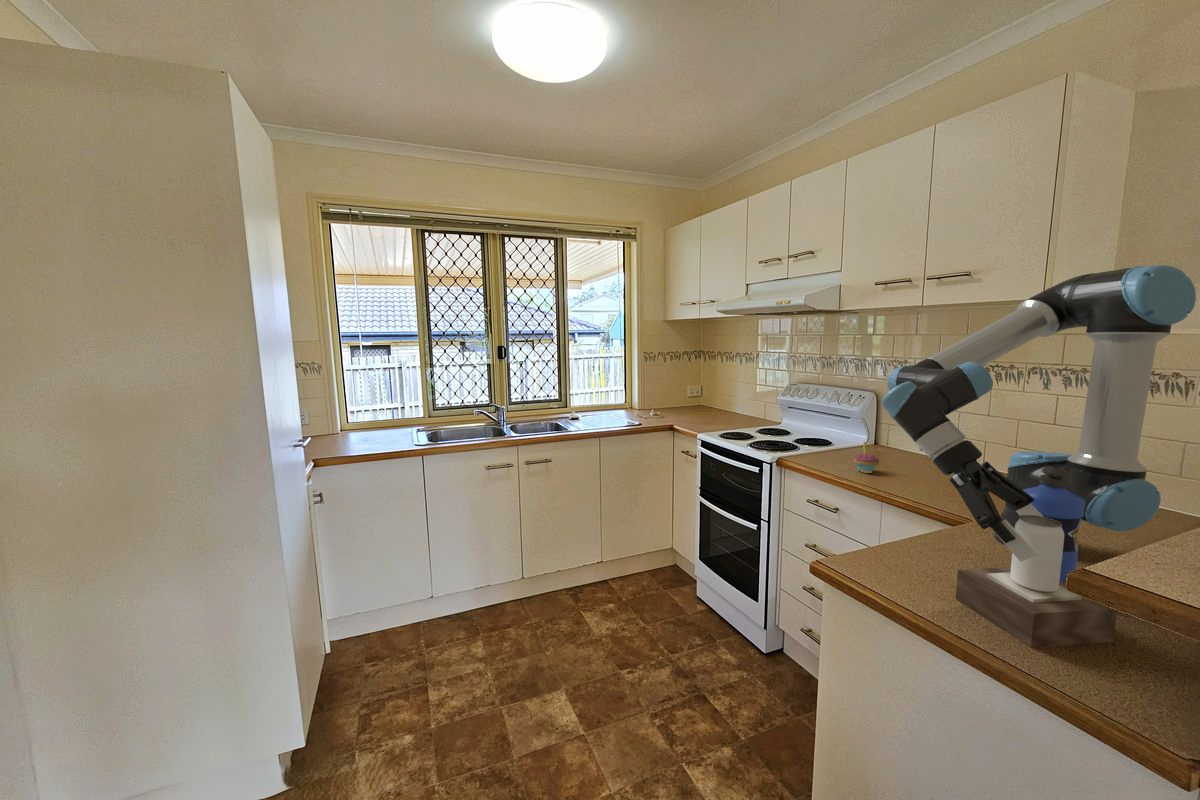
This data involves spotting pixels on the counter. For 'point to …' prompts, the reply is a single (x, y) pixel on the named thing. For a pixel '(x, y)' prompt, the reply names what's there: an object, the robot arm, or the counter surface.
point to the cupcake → (866, 461)
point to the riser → (1035, 610)
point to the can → (1039, 554)
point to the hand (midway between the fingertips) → (1042, 547)
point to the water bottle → (1060, 511)
